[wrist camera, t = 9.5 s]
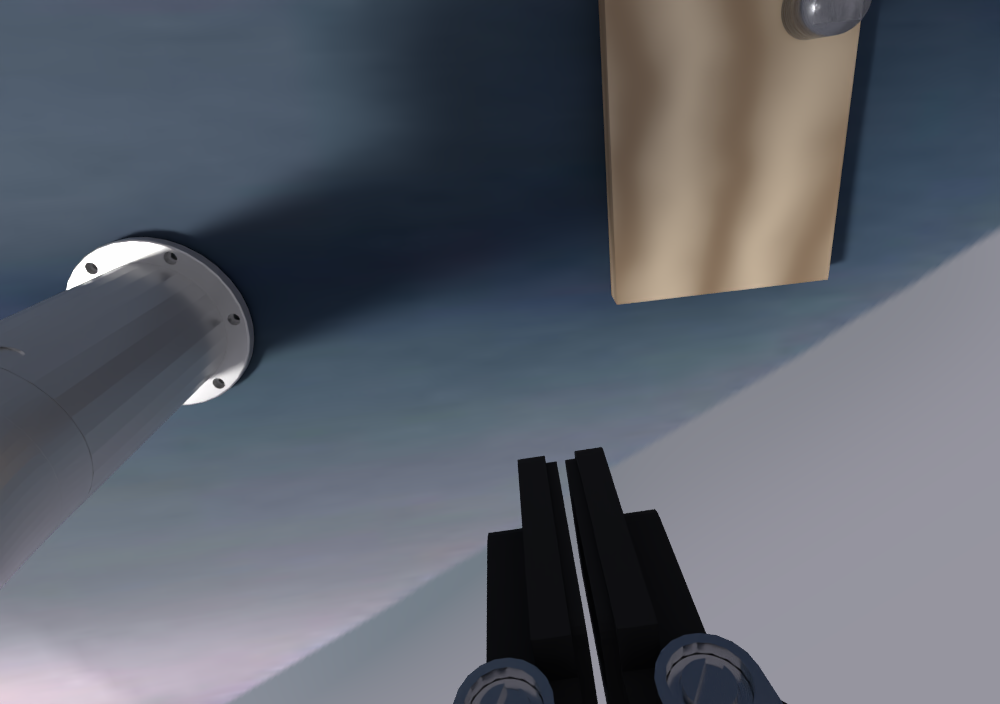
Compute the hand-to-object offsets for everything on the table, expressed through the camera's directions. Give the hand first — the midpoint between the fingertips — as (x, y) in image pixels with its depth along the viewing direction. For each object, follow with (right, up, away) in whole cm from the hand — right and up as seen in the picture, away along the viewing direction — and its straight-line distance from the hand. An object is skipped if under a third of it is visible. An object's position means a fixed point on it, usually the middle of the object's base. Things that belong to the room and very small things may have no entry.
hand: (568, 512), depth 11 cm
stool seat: (+12, +17, +24) cm, 32 cm away
